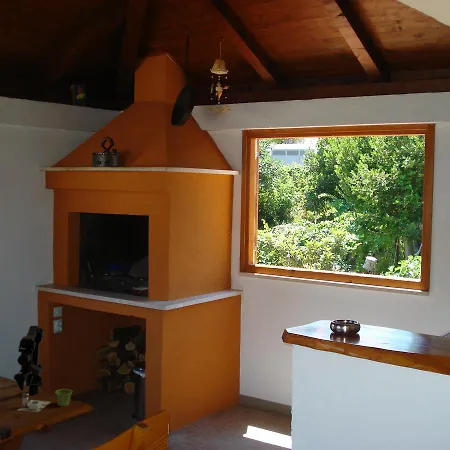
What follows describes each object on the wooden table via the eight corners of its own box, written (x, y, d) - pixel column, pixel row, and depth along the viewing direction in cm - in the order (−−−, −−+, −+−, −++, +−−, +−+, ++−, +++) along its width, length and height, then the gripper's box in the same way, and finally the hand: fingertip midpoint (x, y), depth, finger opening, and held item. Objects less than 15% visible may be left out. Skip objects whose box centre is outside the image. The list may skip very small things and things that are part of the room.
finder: (32, 405, 345) (33, 400, 345) (41, 406, 345) (41, 401, 344) (28, 408, 340) (29, 403, 340) (37, 409, 340) (37, 403, 339)
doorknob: (23, 405, 346) (24, 392, 345) (29, 406, 345) (30, 392, 345) (20, 407, 342) (21, 394, 342) (26, 408, 342) (27, 394, 341)
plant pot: (75, 405, 354) (75, 390, 354) (64, 410, 346) (65, 395, 345) (62, 402, 358) (62, 388, 358) (51, 407, 350) (51, 392, 349)
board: (31, 402, 356) (31, 399, 356) (51, 404, 355) (51, 401, 355) (17, 412, 338) (17, 409, 338) (38, 414, 337) (38, 411, 337)
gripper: (33, 366, 334) (32, 394, 334) (47, 357, 352) (46, 384, 353) (13, 364, 335) (12, 392, 336) (28, 356, 354) (27, 382, 354)
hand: (25, 388), depth 345 cm, fingers open, 9 cm apart
